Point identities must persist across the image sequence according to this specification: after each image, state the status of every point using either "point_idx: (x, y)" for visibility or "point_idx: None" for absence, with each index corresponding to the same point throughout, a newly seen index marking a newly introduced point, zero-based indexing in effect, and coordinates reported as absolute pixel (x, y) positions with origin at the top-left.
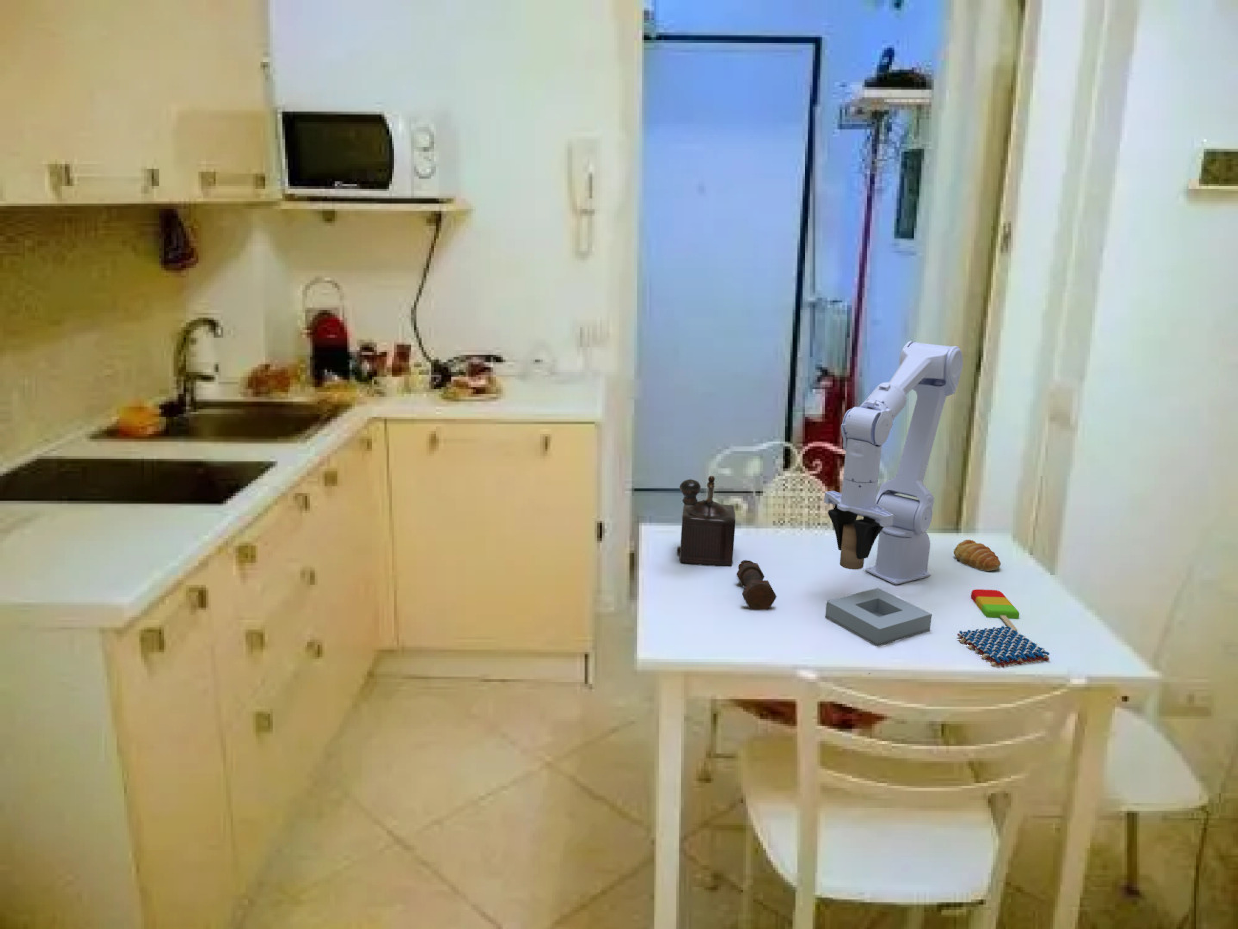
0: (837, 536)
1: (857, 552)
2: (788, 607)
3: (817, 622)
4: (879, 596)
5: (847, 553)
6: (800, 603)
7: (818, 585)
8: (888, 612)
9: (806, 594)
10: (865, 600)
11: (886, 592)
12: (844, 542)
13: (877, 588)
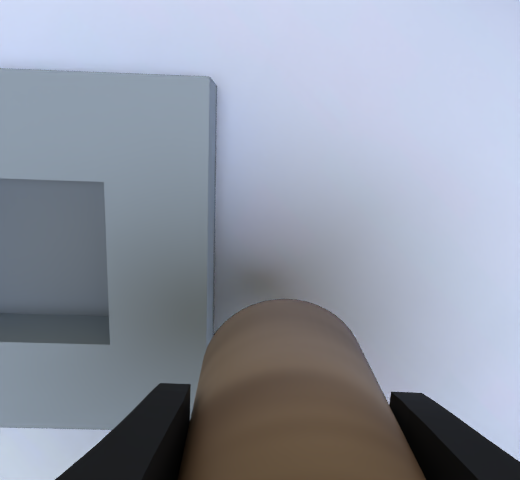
0: (488, 457)
1: (160, 403)
2: (391, 6)
3: (194, 11)
4: (123, 364)
5: (262, 355)
6: (391, 96)
7: (482, 314)
8: (52, 323)
9: (446, 196)
10: (118, 269)
11: None
12: (324, 407)
13: None
